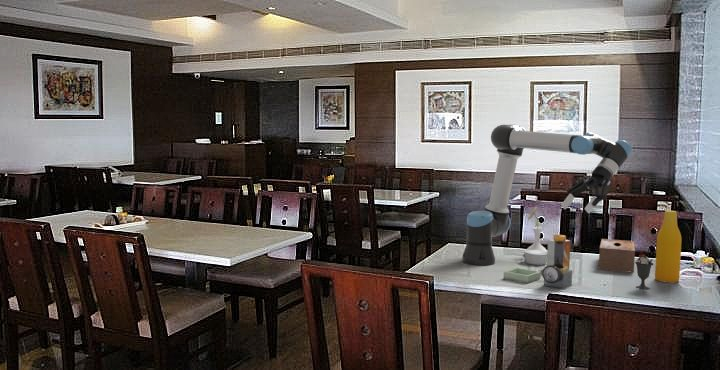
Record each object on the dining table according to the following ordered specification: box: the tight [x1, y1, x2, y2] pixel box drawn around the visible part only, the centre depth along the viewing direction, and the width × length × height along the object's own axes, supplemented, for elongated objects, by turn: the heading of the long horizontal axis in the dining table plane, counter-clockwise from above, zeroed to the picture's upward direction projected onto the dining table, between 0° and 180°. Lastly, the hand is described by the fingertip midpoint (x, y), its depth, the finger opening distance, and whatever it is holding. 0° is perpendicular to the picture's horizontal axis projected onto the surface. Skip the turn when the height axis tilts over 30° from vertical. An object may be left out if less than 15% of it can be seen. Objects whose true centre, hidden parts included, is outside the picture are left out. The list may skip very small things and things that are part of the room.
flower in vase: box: [525, 205, 548, 251], centre depth 305 cm, size 13×11×25 cm
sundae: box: [634, 249, 655, 291], centre depth 245 cm, size 7×7×15 cm
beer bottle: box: [654, 210, 683, 283], centre depth 258 cm, size 9×9×29 cm
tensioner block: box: [541, 265, 573, 290], centre depth 247 cm, size 8×11×9 cm
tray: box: [503, 267, 542, 284], centre depth 259 cm, size 11×11×3 cm
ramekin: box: [523, 249, 548, 266], centre depth 291 cm, size 11×11×5 cm
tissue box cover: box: [598, 238, 636, 273], centre depth 287 cm, size 26×14×10 cm, turn 157°
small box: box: [546, 238, 572, 268], centre depth 278 cm, size 8×6×13 cm
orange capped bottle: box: [552, 234, 567, 269], centre depth 247 cm, size 5×5×14 cm
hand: (574, 209), depth 253 cm, fingers open, 13 cm apart
